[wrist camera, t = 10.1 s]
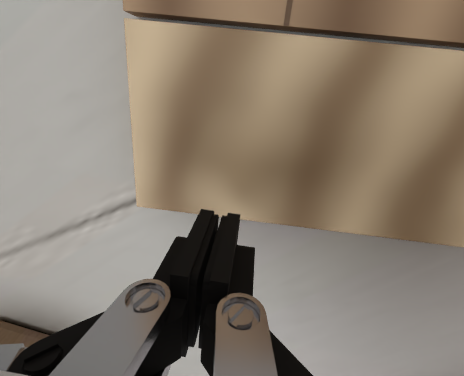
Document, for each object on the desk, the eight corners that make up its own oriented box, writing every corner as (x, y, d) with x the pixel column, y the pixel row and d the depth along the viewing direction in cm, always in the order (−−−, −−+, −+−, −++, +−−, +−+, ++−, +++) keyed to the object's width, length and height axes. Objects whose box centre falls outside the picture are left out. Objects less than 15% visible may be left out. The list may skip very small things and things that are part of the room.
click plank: (582, 66, 12) (620, 65, 11) (480, 238, 16) (499, 251, 15) (136, 23, 13) (124, 18, 12) (145, 196, 17) (136, 206, 16)
